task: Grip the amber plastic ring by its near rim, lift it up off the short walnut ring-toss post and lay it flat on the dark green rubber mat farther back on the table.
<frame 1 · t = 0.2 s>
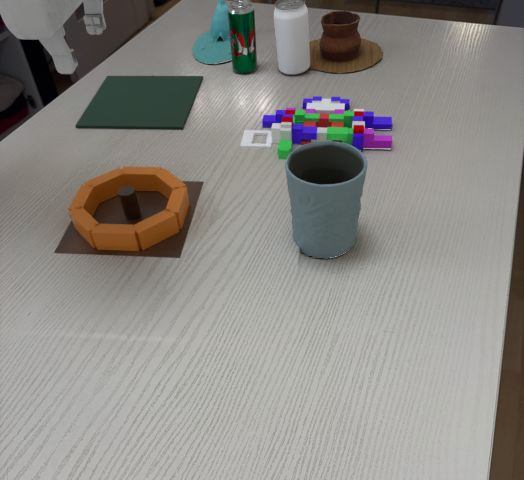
hand: (83, 50, 57), 26 cm above the table, tool pointing down, fingers open, 8 cm apart
grey blue cup: (322, 239, 76), on the table
ceramic pot: (339, 55, 114), on the table, touching can
can: (294, 68, 110), on the table, touching ceramic pot
mat: (142, 102, 104), on the table
building block set: (317, 132, 94), on the table
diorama: (220, 46, 119), on the table
ring toss: (134, 219, 81), on the table
soda can: (245, 70, 111), on the table
ring: (133, 215, 80), point 1 cm above the table, touching ring toss
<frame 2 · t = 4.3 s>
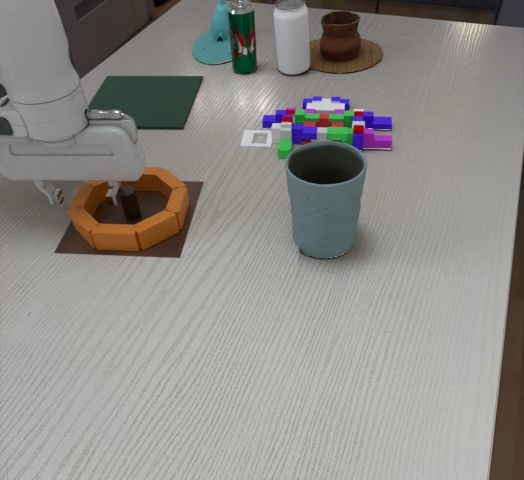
hand: (86, 202, 79), 3 cm above the table, tool pointing down, fingers open, 7 cm apart
nothing on the table moved.
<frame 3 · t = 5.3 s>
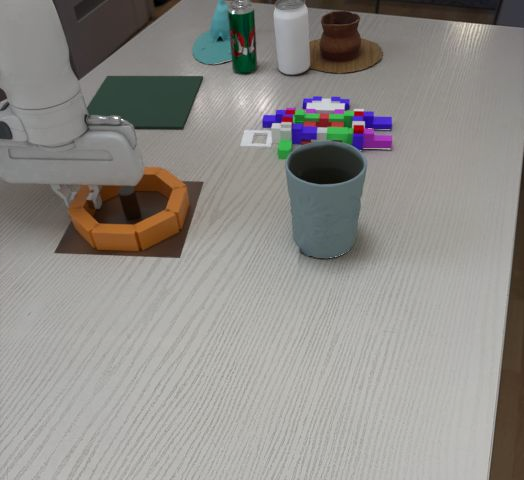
hand: (85, 206, 80), 2 cm above the table, tool pointing down, fingers closed on ring, 2 cm apart
ring: (133, 215, 80), point 1 cm above the table, touching gripper, ring toss
everything else where it was.
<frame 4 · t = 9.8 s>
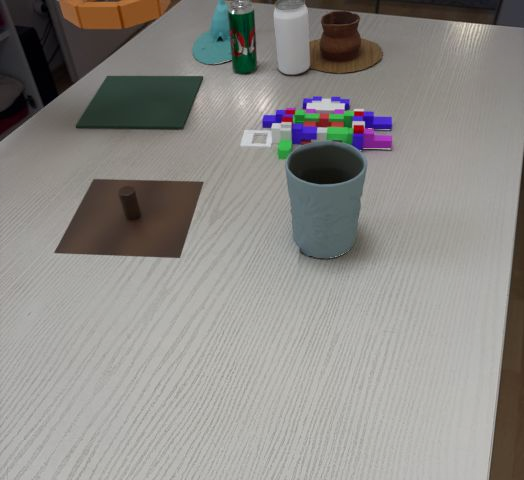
hand: (73, 0, 86), 19 cm above the table, tool pointing down, fingers closed on ring
ring: (117, 9, 86), point 18 cm above the table, touching gripper
everything else where it was.
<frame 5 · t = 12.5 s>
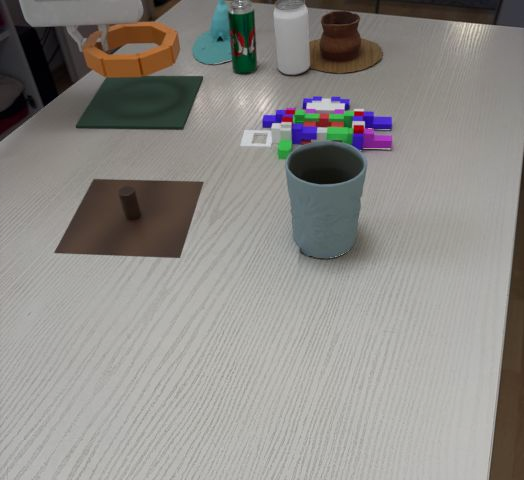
hand: (94, 50, 98), 9 cm above the table, tool pointing down, fingers closed on ring
ring: (134, 57, 98), point 8 cm above the table, touching gripper
everything else where it was.
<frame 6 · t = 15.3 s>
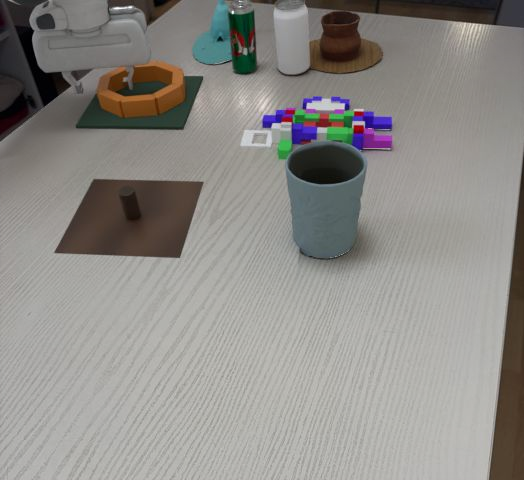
hand: (104, 90, 103), 2 cm above the table, tool pointing down, fingers open, 8 cm apart
ring: (143, 96, 105), resting on mat
everything else where it was.
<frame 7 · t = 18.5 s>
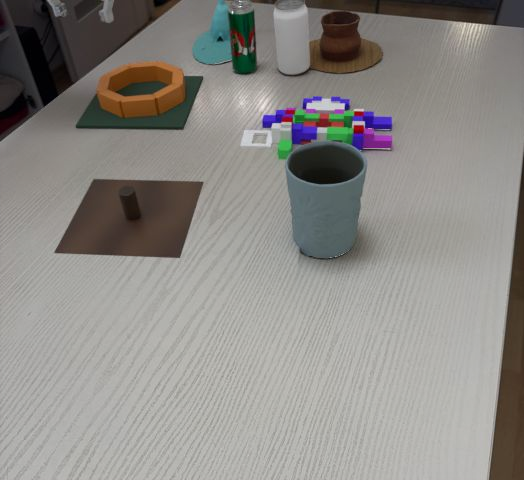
hand: (84, 18, 94), 15 cm above the table, tool pointing down, fingers open, 8 cm apart
nothing on the table moved.
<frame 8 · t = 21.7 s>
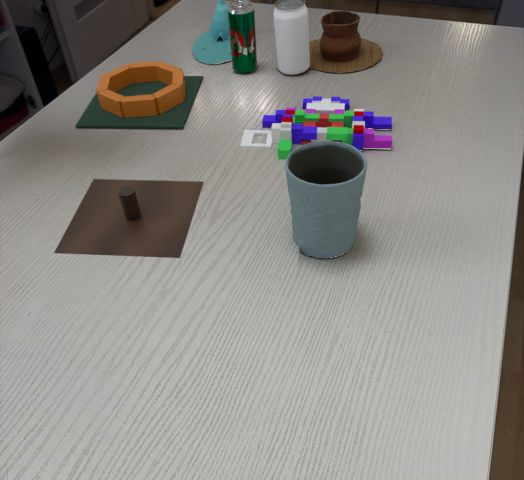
nothing on the table moved.
at the end: ring inside the target area on the mat (1.3 cm from its centre), point 0.5 cm above the mat's base; ring tilted 0°; the gripper is holding nothing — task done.
